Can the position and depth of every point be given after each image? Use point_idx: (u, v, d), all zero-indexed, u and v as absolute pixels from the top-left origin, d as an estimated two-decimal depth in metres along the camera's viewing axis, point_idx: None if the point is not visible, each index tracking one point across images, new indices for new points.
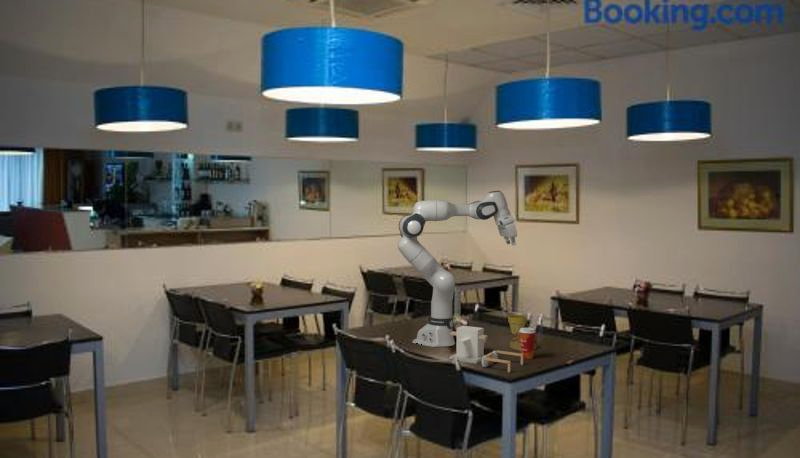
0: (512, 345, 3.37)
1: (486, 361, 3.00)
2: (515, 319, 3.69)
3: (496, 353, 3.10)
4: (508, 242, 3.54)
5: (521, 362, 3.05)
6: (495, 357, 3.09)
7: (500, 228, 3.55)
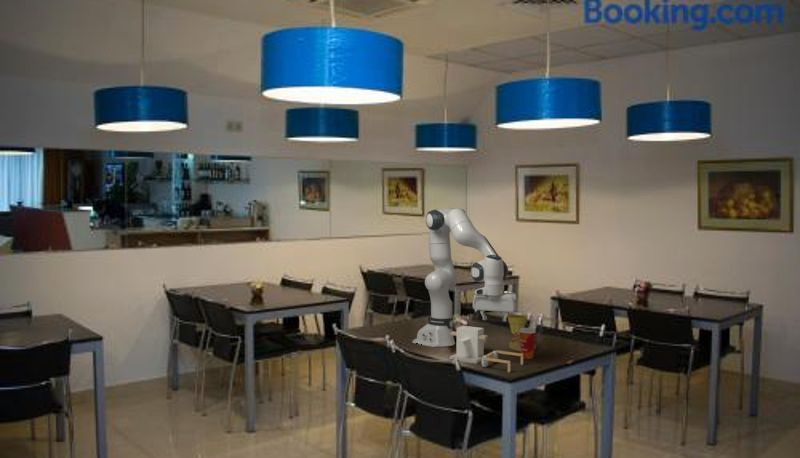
0: (512, 345, 3.36)
1: (486, 361, 3.00)
2: (515, 319, 3.69)
3: (496, 353, 3.10)
4: None
5: (521, 362, 3.05)
6: (495, 357, 3.09)
7: None
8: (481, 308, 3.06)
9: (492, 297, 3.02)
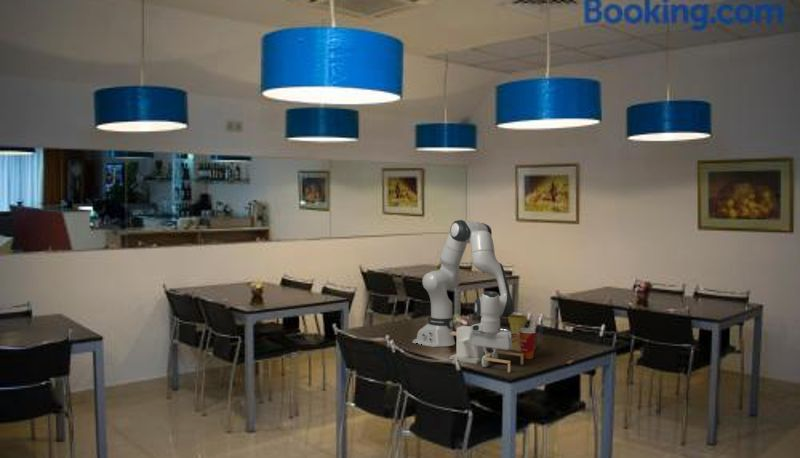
0: None
1: (486, 361, 3.00)
2: (515, 319, 3.69)
3: (496, 353, 3.10)
4: None
5: (521, 362, 3.05)
6: (495, 357, 3.09)
7: None
8: (477, 344, 3.06)
9: (488, 334, 3.02)
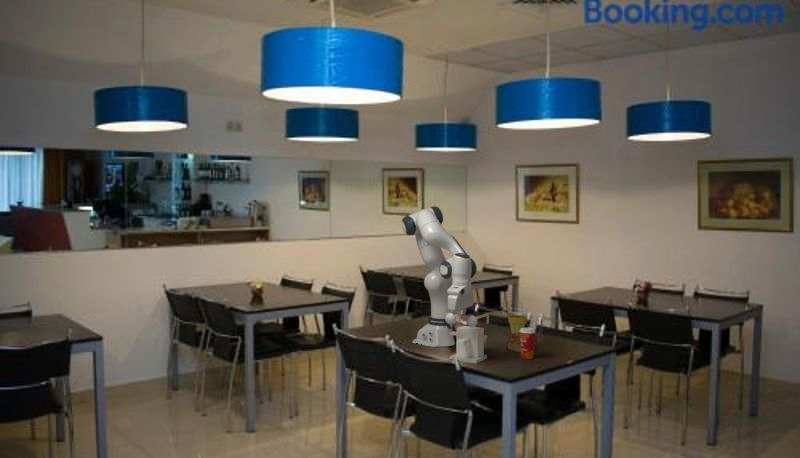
0: (511, 346, 3.34)
1: None
2: (515, 319, 3.69)
3: None
4: None
5: None
6: None
7: None
8: (459, 308, 3.02)
9: (467, 294, 3.06)
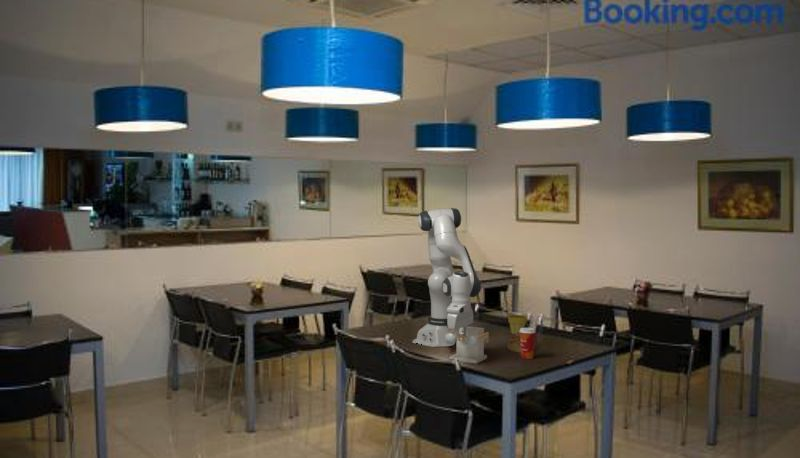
0: (510, 347, 3.33)
1: None
2: (515, 319, 3.69)
3: None
4: (463, 333, 3.10)
5: None
6: None
7: None
8: (459, 327, 3.02)
9: (467, 313, 3.06)
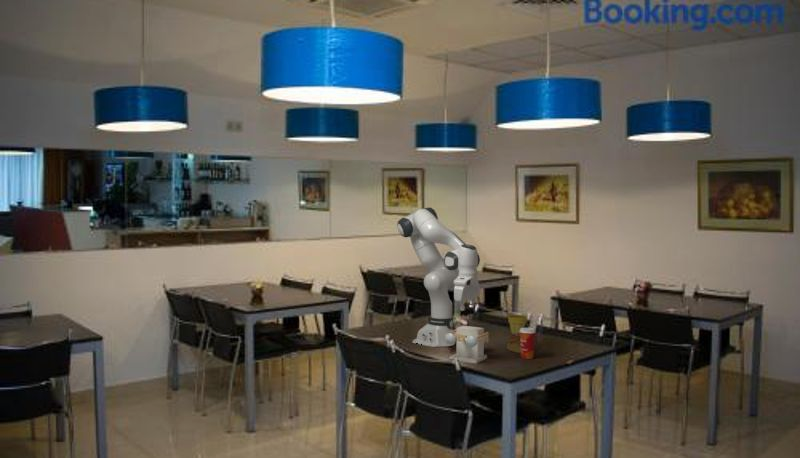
0: (510, 347, 3.32)
1: None
2: (515, 319, 3.69)
3: None
4: (470, 306, 3.13)
5: None
6: None
7: None
8: (465, 299, 3.04)
9: (474, 285, 3.08)
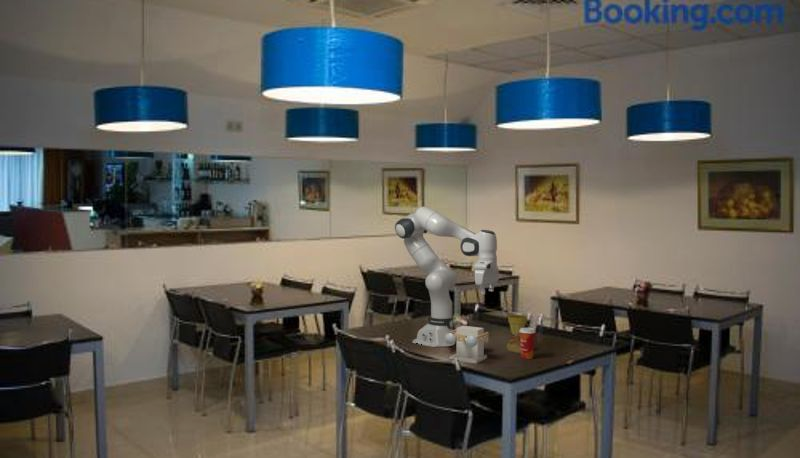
0: (510, 347, 3.32)
1: None
2: (515, 319, 3.69)
3: None
4: (490, 290, 3.21)
5: None
6: None
7: None
8: (485, 282, 3.12)
9: (493, 270, 3.16)
